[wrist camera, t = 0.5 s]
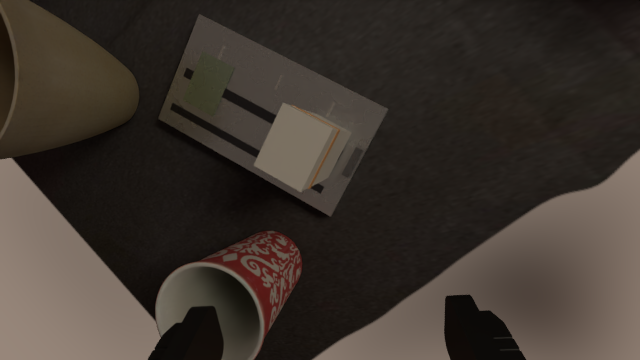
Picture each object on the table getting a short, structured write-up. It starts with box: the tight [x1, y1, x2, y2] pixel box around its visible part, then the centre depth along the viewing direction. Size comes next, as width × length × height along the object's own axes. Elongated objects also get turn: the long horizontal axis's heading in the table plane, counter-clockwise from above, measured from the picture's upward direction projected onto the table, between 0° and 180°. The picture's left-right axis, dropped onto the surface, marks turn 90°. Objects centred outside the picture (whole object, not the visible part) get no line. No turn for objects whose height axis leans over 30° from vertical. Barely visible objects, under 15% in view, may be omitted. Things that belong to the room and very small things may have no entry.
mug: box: [155, 231, 302, 360], centre depth 32 cm, size 13×9×14 cm
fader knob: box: [254, 103, 352, 192], centre depth 29 cm, size 5×4×10 cm
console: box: [158, 14, 389, 217], centre depth 36 cm, size 12×22×2 cm, turn 63°
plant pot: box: [0, 0, 139, 159], centre depth 33 cm, size 15×15×16 cm
